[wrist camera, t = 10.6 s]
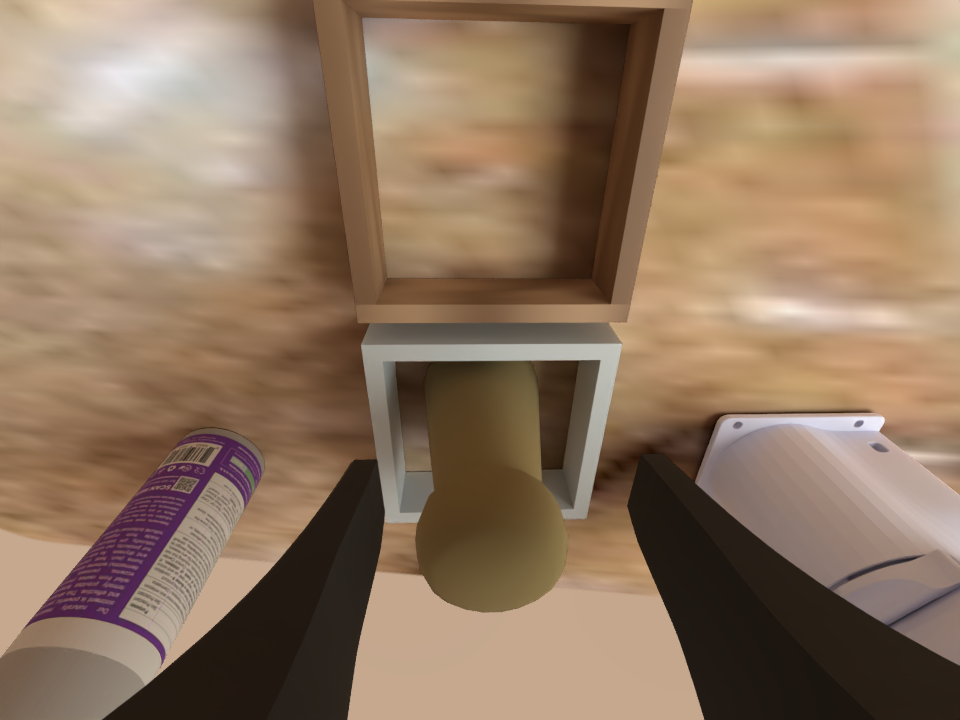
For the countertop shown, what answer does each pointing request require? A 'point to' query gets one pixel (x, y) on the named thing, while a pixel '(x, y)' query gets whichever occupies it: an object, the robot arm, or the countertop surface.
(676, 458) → the countertop surface
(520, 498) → the olive rounded piece
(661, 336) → the countertop surface
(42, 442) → the countertop surface
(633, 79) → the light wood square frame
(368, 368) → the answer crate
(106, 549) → the container
